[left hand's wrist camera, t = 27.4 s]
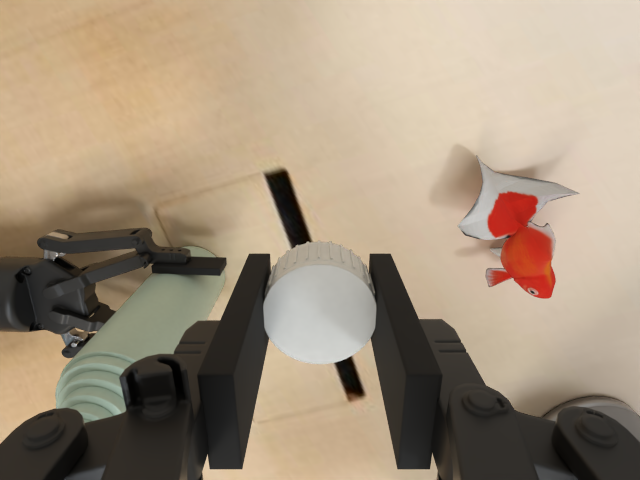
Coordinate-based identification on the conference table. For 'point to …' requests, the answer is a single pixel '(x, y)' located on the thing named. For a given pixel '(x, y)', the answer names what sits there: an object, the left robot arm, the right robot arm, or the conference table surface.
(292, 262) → the cap
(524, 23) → the conference table surface
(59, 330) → the right robot arm
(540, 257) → the fish
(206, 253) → the bottle
